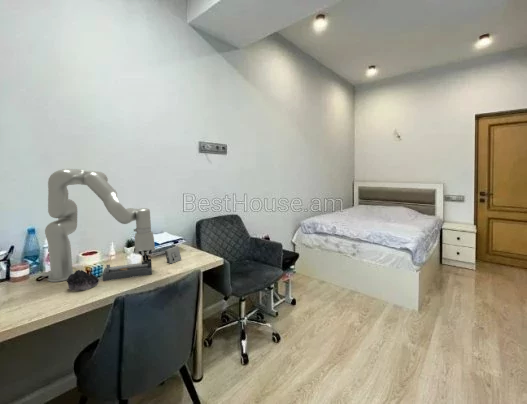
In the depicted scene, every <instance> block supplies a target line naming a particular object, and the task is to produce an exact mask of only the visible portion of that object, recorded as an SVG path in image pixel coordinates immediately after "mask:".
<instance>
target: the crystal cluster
mask: <svg viewBox="0 0 527 404" xmlns="http://www.w3.org/2000/svg"><path fill="white" fill-rule="evenodd" d="M74 272H75V273H74V274H71V275H70V276H69V277H68V279H67V280H66V282H67V286H68V290H69V291H72V290H75V292H76V291H79V292H80V291H86V290H87V291H88V290H90V289H92V288H94V287H97V286H98V285H99V278H98V277H96V275H94V274H93V273H91V274H89V273H87V272H86V271H85V270H82V269H81V270H80V269H76V270H75V271H74Z"/></svg>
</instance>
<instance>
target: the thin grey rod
mask: <svg viewBox="0 0 527 404" xmlns="http://www.w3.org/2000/svg"><path fill="white" fill-rule="evenodd" d="M145 265H148V261H147V262H144V261H143V260H141V262H138V263H132V264H131V263H130V264H124V265H116V266H110V267H109V270H115V269H123V268H130V267H138V266H145Z"/></svg>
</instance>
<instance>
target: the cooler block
mask: <svg viewBox="0 0 527 404" xmlns="http://www.w3.org/2000/svg"><path fill="white" fill-rule="evenodd" d="M147 261H148V265H145V266H138V267H130V268H123V269H115V270H109V267H111V264H106V267H105V268H104V270H103V272H102V281H103V282H108V281H116V280H122V279H129V278H136V277H142V276H143V277H144V276H151V275H153V271H152V270H153V267H152V266H153V265H152V258H149V260H147Z"/></svg>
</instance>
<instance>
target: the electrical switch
mask: <svg viewBox="0 0 527 404" xmlns="http://www.w3.org/2000/svg"><path fill="white" fill-rule="evenodd" d="M164 255H165V258H166V262H167V263H169V264H175V263H176V262H179V261H181V260H182V256H181V252H180V248H179V245H178V246H173V247H170V248H168V249H167V248H166V250H165V251H164Z"/></svg>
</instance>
